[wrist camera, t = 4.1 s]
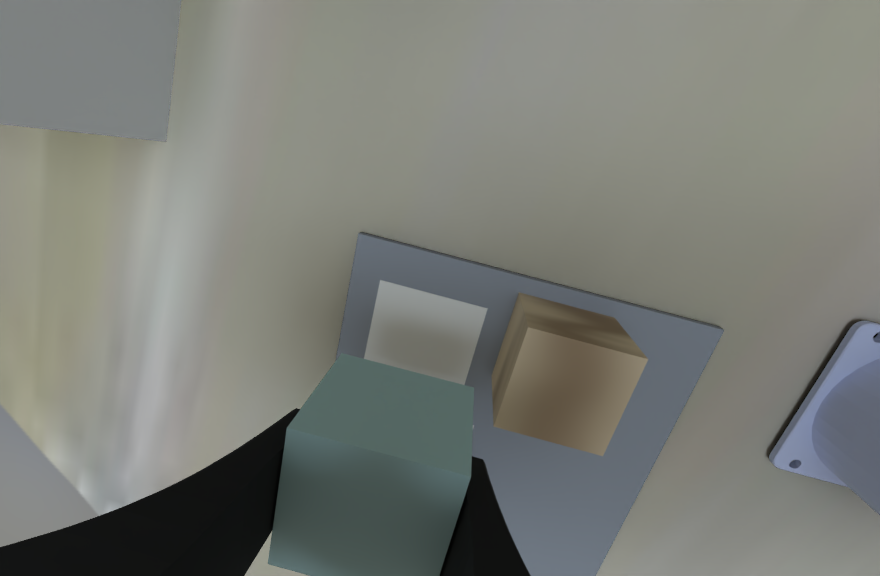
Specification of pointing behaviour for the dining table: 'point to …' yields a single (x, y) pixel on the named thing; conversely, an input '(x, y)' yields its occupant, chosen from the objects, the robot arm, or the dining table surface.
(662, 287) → the dining table surface
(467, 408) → the teal block
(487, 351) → the blueprint mat
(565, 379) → the oak block
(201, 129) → the dining table surface
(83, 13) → the milk
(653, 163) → the dining table surface
